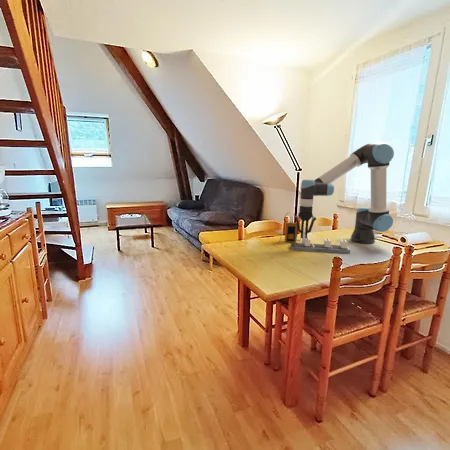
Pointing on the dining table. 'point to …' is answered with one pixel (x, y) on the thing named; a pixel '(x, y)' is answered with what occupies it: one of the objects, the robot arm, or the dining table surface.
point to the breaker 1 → (307, 242)
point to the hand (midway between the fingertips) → (303, 243)
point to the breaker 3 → (343, 244)
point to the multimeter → (290, 231)
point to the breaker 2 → (327, 243)
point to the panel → (319, 248)
